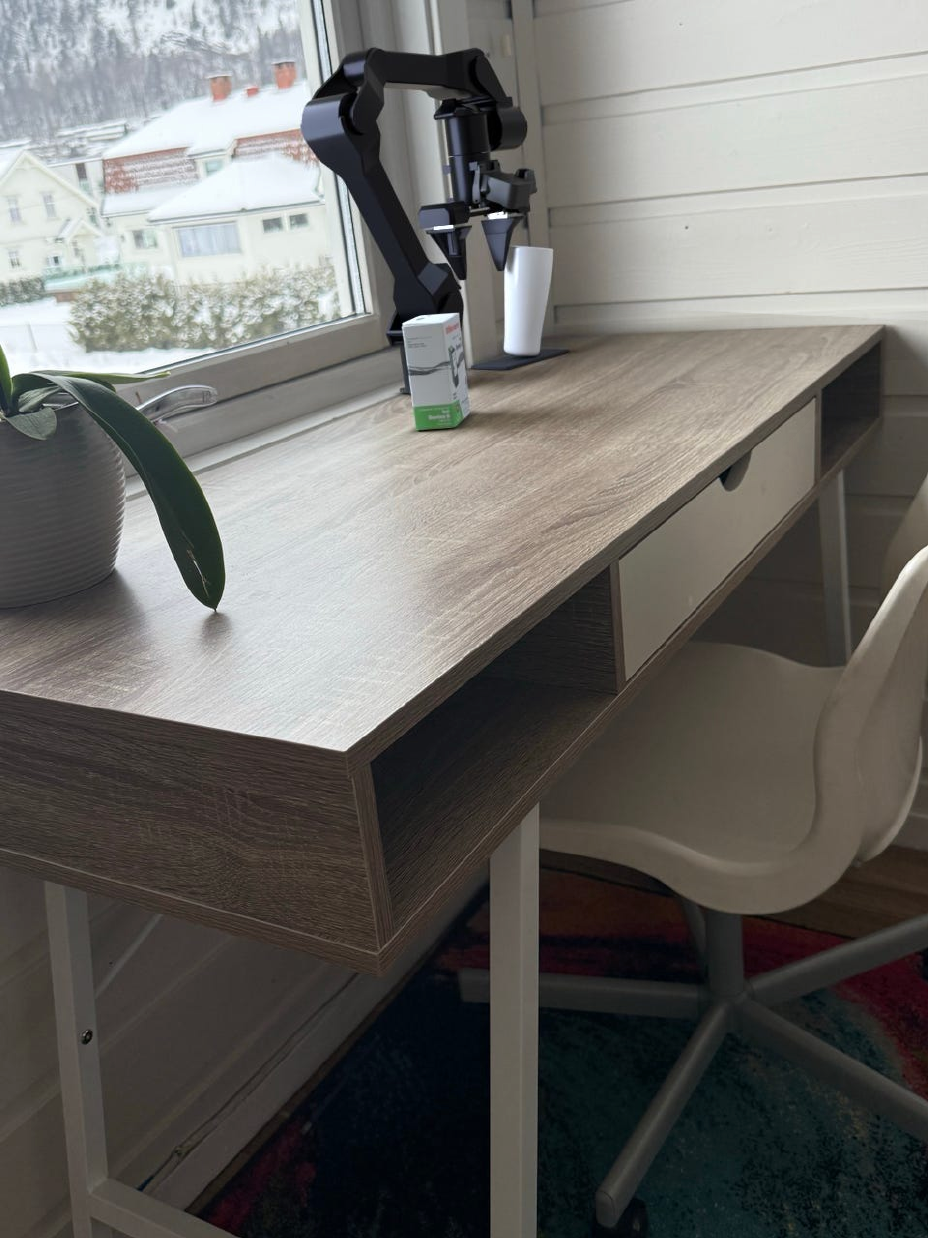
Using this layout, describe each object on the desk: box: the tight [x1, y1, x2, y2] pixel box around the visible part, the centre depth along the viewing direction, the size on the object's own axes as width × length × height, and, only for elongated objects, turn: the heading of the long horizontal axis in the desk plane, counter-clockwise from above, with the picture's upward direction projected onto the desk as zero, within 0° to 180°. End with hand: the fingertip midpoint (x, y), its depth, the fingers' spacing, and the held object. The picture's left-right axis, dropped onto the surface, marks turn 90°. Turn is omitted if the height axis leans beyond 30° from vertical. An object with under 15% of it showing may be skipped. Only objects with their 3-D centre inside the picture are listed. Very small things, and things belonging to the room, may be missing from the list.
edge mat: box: [470, 348, 570, 371], centre depth 169 cm, size 14×7×1 cm, turn 136°
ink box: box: [402, 313, 471, 431], centre depth 130 cm, size 9×5×12 cm, turn 168°
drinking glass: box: [503, 245, 554, 356], centre depth 166 cm, size 7×7×15 cm
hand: (482, 275), depth 159 cm, fingers open, 9 cm apart
